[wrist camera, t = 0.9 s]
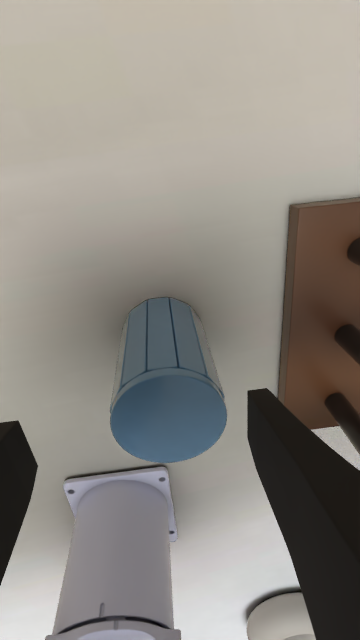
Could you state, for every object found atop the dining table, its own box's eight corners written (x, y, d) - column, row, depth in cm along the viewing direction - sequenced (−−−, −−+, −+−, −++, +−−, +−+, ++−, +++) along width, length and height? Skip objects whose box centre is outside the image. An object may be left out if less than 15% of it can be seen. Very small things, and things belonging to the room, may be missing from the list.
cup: (203, 361, 21) (228, 455, 14) (130, 369, 21) (121, 470, 14) (199, 292, 19) (225, 367, 12) (116, 302, 19) (98, 383, 12)
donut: (339, 584, 37) (256, 586, 35) (357, 623, 34) (267, 628, 32) (308, 626, 41) (233, 630, 39) (322, 664, 38) (241, 670, 36)
